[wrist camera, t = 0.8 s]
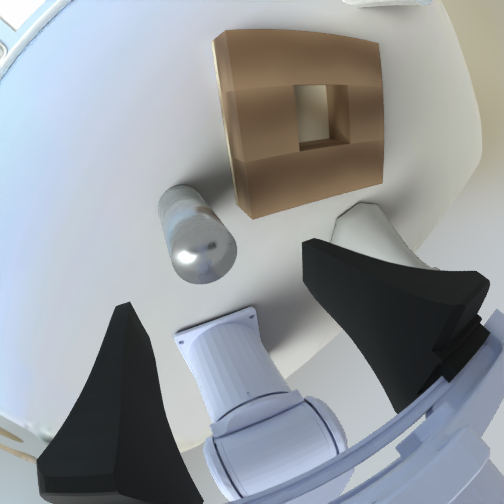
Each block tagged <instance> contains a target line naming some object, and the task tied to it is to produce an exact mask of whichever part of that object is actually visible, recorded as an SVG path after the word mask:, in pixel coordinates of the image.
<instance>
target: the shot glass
mask: <svg viewBox="0 0 504 504" xmlns="http://www.w3.org/2000/svg"><path fill="white" fill-rule="evenodd" d="M342 1H343V2H345V3H347V4H348V5H350V6H354V7H357V8H363V7H373V6H388V5H430V4H431V3H432V1H433V0H342Z"/></svg>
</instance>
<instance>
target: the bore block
mask: <svg viewBox="0 0 504 504" xmlns="http://www.w3.org/2000/svg"><path fill="white" fill-rule="evenodd" d="M211 44H212V50H213V57H214V64H215V70H216V77H217V84H218V90H219V97H220V103H221V110H222V116H223V123H224V129H225V135H226V142H227V148H228V154H229V161H230V167H231V173H232V179H233V186H234V192H235V198H236V204H237V205H238V206H239V207H240V208H241V209H242V210H243V211H244V212H245V213H246V214H247V215H248V216H249V217H250V218H251V219H252V220H253V219H256V218H260V217H263V216H266V215H270V214H273V213H276V212H280V211H283V210H287V209H290V208H294V207H297V206H301V205H304V204H308V203H311V202H315V201H318V200H322V199H325V198H329V197H333V196H336V195H340V194H344V193H347V192H351V191H355V190H359V189H362V188H366V187H370V186H374V185H378V184H382V182H383V162H384V105H383V85H382V72H381V61H380V52H379V44H378V43H375V42H371V41H366V40H362V39H357V38H351V37H346V36H340V35H333V34H326V33H317V32H308V31H296V30H276V29H244V30H225V31H224V32H223V33H222V34H220V35H219V36H218V37H217V38H215V39H214V40H213V41H212V42H211Z"/></svg>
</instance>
